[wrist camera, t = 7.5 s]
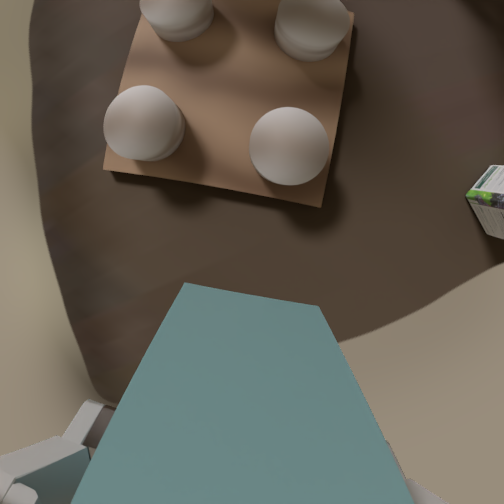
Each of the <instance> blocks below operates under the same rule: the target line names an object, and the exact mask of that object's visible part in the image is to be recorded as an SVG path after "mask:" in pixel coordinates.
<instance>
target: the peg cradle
mask: <svg viewBox="0 0 504 504" xmlns="http://www.w3.org/2000/svg"><path fill="white" fill-rule="evenodd" d="M140 9H141V11H142V15H141V18H140V21H139V24H138V27H137V30H136V33H135V36H134V39H133V42H132V45H131V49H130V52H129V55H128V59H127V62H126V66H125V69H124V73H123V76H122V80H121V84H120V88H119V92H118V96H117V97H116V98H115V99H114V100H113V101H112V103H111V104H110V106H109V108H108V109H107V112H106V114H105V118H104V127H103V128H104V135H105V139H106V141H107V148H106V153H105V159H104V165H103V170H110V171H118V172H125V173H132V174H139V175H146V176H153V177H159V178H166V179H172V180H178V181H184V182H190V183H196V184H202V185H208V186H214V187H219V188H225V189H230V190H236V191H241V192H246V193H251V194H257V195H262V196H267V197H272V198H277V199H282V200H286V201H291V202H296V203H301V204H305V205H310V206H315V207H319V208H321V205H322V200H323V196H324V191H325V186H326V181H327V176H328V171H329V166H330V161H331V156H332V151H333V146H334V140H335V135H336V129H337V124H338V118H339V113H340V107H341V101H342V95H343V89H344V82H345V76H346V69H347V63H348V56H349V49H350V42H351V34H352V27H353V19H354V13H352V12H349V11H347V10H346V8H345V6H344V5H343V4H342V3H341V2H340V1H339V0H140Z"/></svg>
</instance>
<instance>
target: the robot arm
mask: <svg viewBox="0 0 504 504" xmlns="http://www.w3.org/2000/svg"><path fill="white" fill-rule="evenodd" d="M116 409H117V408H114V407H112V406H108V405H104V404H101V403H99V402H96V401H93V400H90V399H88V400H87V401H85V402H84V403H83V405H82V406H81V408H80V409H79V411H78V412H77V414H76V416H75V417H74V419H73V420H72V422H71V423H70V425H69V427H68V428H67V430H66V432H65V433H64V435H63V436H62V437H60V436H57V435H56V436H54V437H51V438H49V439H46V440H44V441H41V442H39V443H36V444H33V445H30V446H28V447H25V448H22V449H20V450H17V451H14V452H11V453H8V454H5V455H2V456H0V504H71V502H72V499H73V497H74V495H75V493H76V491H77V488H78V486H79V484H80V482H81V480H82V478H83V476H84V473H85V471H86V469H87V467H88V465H89V463H90V461H91V459H92V457H93V455H94V453H95V451H96V449H97V447H98V444H99V442H100V440H101V438H102V436H103V434H104V432H105V430H106V428H107V426H108V424H109V422H110V420H111V418H112V416H113V414H114V412H115V410H116ZM385 441H386V440H385ZM386 443H387V445H388V447H389V449H390V451H391V453H392V455H393V458H394V460H395V462H396V464H397V466H398V468H399V471H400V473H401V475H402V477H403V479H404V481H405V484H406V486H407V488H408V490H409V492H410V495H411V497H412V499H413V501H414V504H449V503H448V502H446V501H444V500H443V499H441V498H440V497H438V496H436V495H435V494H433V493H432V492H430V491H429V490H427V489H426V488H424V487H422V486H421V485H419V484H418V483H416V482H415V481H413V480H412V479H406V478H405V475H404V473H403V471H402V469H401V467H400V465H399V463H398V461H397V459H396V457H395V455H394V453H393V451H392V448H391V446H390V444H389V443H388V442H387V441H386Z"/></svg>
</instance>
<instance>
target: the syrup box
mask: <svg viewBox="0 0 504 504" xmlns="http://www.w3.org/2000/svg"><path fill="white" fill-rule="evenodd" d="M466 198H467V199H468V201H469V203H470V205H471V206H472V208H473V210H474V212H475V214H476V215H477V217H478V219H479V221H480V223H481V225H482V226H483V228H484V230H485V232H486V234H488V235H491V236H494V237H497V238H500V239H504V166H501V165H491V166H490V167H489V168H488V170H487V171H486V172H485V173H484V174H483V175H482V176H481V178H480V179H479V180H478V181H477V182H476V183H475V185H474V186H473V187H472V188H471V189H470V191H469V192H468V193H467V194H466Z"/></svg>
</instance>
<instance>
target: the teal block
mask: <svg viewBox="0 0 504 504" xmlns="http://www.w3.org/2000/svg"><path fill="white" fill-rule="evenodd" d="M71 504H414V501H413V499H412V497H411V495H410V492H409V490H408V488H407V486H406V484H405V481H404V479H403V477H402V475H401V473H400V471H399V468H398V466H397V464H396V462H395V460H394V458H393V455H392V453H391V451H390V449H389V447H388V445H387V443H386V441H385V438H384V436H383V435H382V432H381V430H380V428H379V426H378V424H377V422H376V420H375V418H374V415H373V414H372V411H371V409H370V407H369V405H368V403H367V401H366V399H365V397H364V395H363V393H362V391H361V389H360V387H359V385H358V383H357V381H356V379H355V377H354V375H353V373H352V371H351V369H350V367H349V365H348V363H347V361H346V359H345V357H344V355H343V353H342V351H341V349H340V347H339V345H338V343H337V341H336V339H335V337H334V335H333V333H332V331H331V330H330V328H329V326H328V324H327V322H326V320H325V318H324V316H323V314H322V312H321V310H320V308H319V306H314V305H307V304H301V303H295V302H289V301H283V300H277V299H271V298H265V297H259V296H254V295H248V294H243V293H237V292H232V291H226V290H221V289H215V288H210V287H205V286H200V285H194V284H189V283H184V285H183V287H182V288H181V290H180V292H179V294H178V295H177V297H176V299H175V301H174V303H173V304H172V306H171V308H170V310H169V311H168V313H167V315H166V317H165V319H164V320H163V322H162V324H161V326H160V328H159V329H158V331H157V333H156V335H155V337H154V339H153V340H152V342H151V344H150V346H149V348H148V350H147V351H146V353H145V355H144V357H143V359H142V361H141V363H140V365H139V366H138V368H137V370H136V372H135V374H134V376H133V378H132V380H131V382H130V383H129V385H128V387H127V389H126V391H125V393H124V395H123V397H122V399H121V401H120V403H119V405H118V407H117V409H116V410H115V412H114V414H113V416H112V418H111V420H110V422H109V424H108V426H107V428H106V430H105V432H104V434H103V436H102V438H101V440H100V442H99V444H98V447H97V449H96V451H95V453H94V455H93V457H92V459H91V461H90V463H89V465H88V467H87V469H86V471H85V473H84V476H83V478H82V480H81V482H80V484H79V486H78V488H77V491H76V493H75V495H74V497H73V499H72V502H71Z"/></svg>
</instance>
